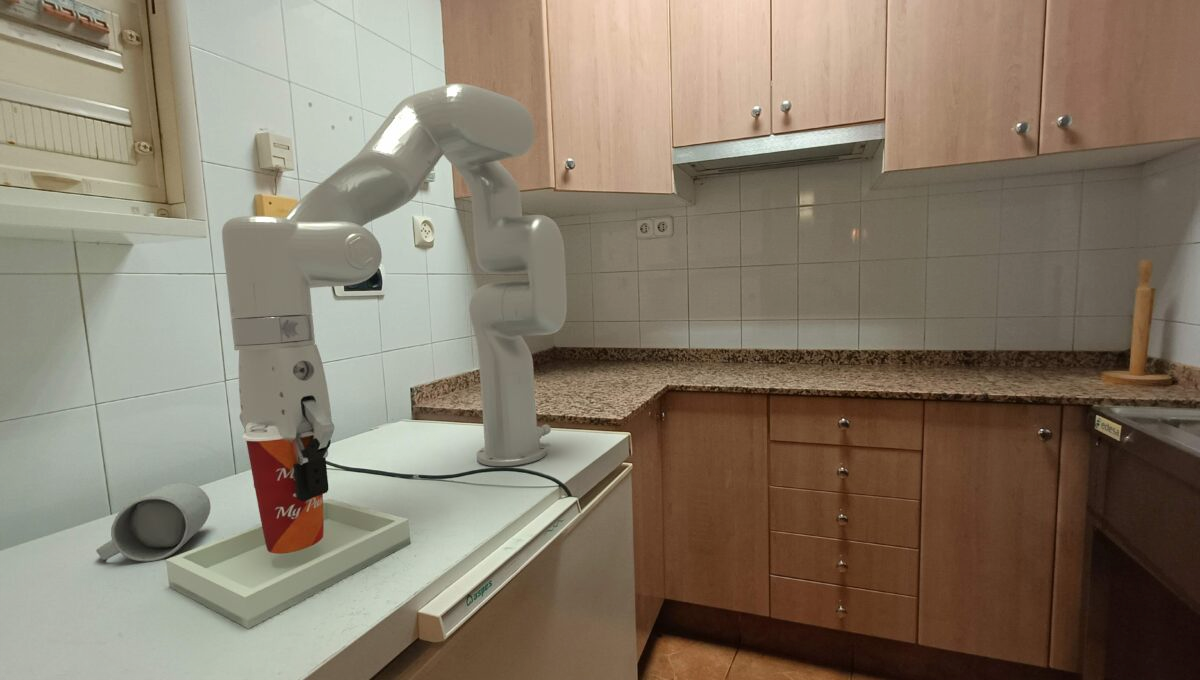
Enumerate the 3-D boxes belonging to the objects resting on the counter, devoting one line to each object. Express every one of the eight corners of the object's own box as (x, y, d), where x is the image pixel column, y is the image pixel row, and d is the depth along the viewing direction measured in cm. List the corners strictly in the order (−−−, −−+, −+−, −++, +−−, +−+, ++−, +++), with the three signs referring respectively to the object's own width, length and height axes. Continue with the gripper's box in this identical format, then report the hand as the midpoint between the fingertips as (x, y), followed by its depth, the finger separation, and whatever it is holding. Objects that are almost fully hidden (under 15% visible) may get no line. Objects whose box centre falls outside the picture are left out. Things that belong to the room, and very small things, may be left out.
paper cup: (299, 560, 55) (285, 428, 53) (237, 557, 56) (222, 428, 55) (349, 527, 62) (338, 410, 61) (293, 524, 64) (281, 411, 63)
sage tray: (330, 520, 71) (328, 498, 71) (410, 543, 63) (408, 519, 63) (169, 586, 56) (165, 559, 55) (248, 629, 47) (245, 597, 47)
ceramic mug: (218, 527, 70) (210, 471, 70) (192, 554, 63) (184, 492, 62) (120, 544, 67) (111, 485, 67) (81, 575, 59) (70, 509, 59)
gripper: (356, 330, 56) (370, 490, 57) (267, 331, 65) (282, 470, 66) (284, 336, 49) (302, 517, 51) (196, 337, 58) (214, 491, 60)
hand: (290, 489), depth 59 cm, fingers closed on paper cup, 7 cm apart
